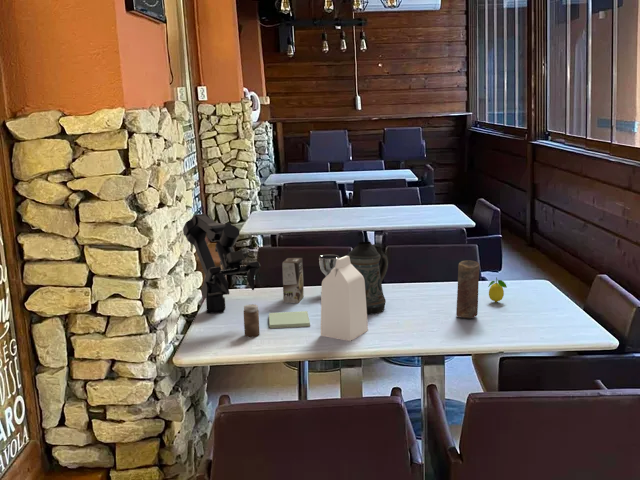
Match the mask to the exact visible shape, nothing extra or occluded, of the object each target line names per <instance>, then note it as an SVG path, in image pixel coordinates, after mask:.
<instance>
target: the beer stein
mask: <svg viewBox="0 0 640 480" xmlns="http://www.w3.org/2000/svg"><path fill="white" fill-rule="evenodd" d="M346 256H349V257H350V262H351V264H352V265H353V266H354V267H355V268H356V269H357V270H358V271H359V272H360V273H361V274H362V276H363V277H364V280H365V293H366V307H367V316H368V315H377V314H379V313H382V312H383V311H384V310H385V305H386V297H385V295H384V291H383V285H382V283H383V281H384V279H385V277H386V276H387V275H386V274H387V272H388V269H389V258H388V256H387V253H386V252H385V251H383V249H382V247H381V246H380V245H377V244H372V242H371V241H359V242H358V244H357V245H356V246H355V247H354V248H353V249H351V251H350V252H348V254H347V255H346Z"/></svg>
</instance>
